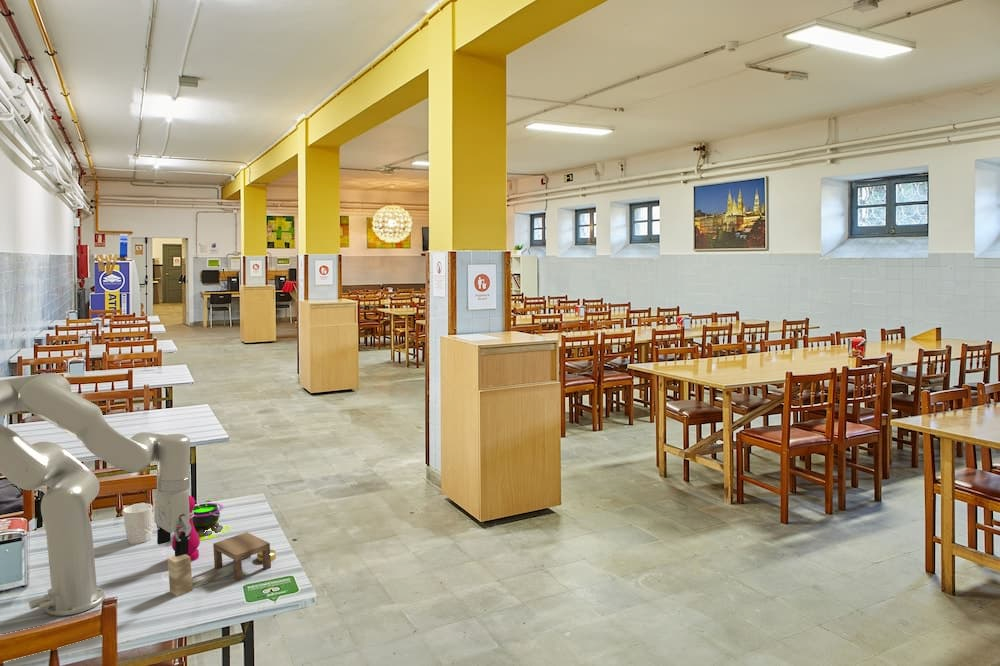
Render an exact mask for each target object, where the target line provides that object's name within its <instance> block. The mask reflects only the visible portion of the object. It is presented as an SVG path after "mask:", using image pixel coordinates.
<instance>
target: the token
mask: <svg viewBox="0 0 1000 666" xmlns="http://www.w3.org/2000/svg"><path fill="white" fill-rule="evenodd" d="M256 554H257V555H256V558H257V560H256V561H257V562H259V563H262V564H263V557H262V552H259V553H256ZM270 559H271V562H273V561H275V560H276V559H277V553H276V550H274V549H270Z"/></svg>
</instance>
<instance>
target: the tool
mask: <svg viewBox="0 0 1000 666" xmlns="http://www.w3.org/2000/svg"><path fill="white" fill-rule="evenodd" d="M167 569H168V583H169V592H171V593H172V594H173V595H175V596H176V597H178V596H181V595H184V594H186V593H189V592H192V591H193V589H195V587H196V588H198V587H197V586H199V587H201V586H203V585H202V584H204V583H206V584H208V583H207V582H209V583H211V582H210V581H212V582H215V581H216V580H219V579H222V578H224V577H227V576H230V575H234V565H233V563H232V564H228V565H226V566H223V567H222V568H219V569H215V570H212V571H210V572H207V573H205V574H202V575H199V576H197V577H194V578H192V577H193V576H192V561H191V558H190V557H189V556H188V555H186V554H184V555H181V556H177V557H176V556H175V555H172V556H170V557H168V558H167ZM200 585H201V586H200ZM204 585H205V584H204Z"/></svg>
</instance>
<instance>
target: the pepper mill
mask: <svg viewBox="0 0 1000 666" xmlns="http://www.w3.org/2000/svg"><path fill="white" fill-rule="evenodd" d="M188 496H189V512H190V520H189V523H190V525H191V527H192V528H191V531H190V533H191V534H190V536H189V537H190V538H189V545H188V553H187V554H186V555H188V556H189V557H190V558H191V562H192V561H196V560H197V559H198V558H199V556H200V551H199V549H198V548H199V546H200V544H201V540H200V539H199V536H198V534H197V532H196V530H195V528H194V526H193V516H194V514H193V513H194V511H193V509H194V507H195V506H196V501H195V500H196V499H195V498H194V497H193V496H191V495H189V494H188ZM177 528H181V526H180V527H177ZM182 532H183V531H179V535H181V533H182ZM176 540H177V539H176V536H175V534H174V535H173V538H172V542H171V548H172V550H173V551H174V552H175V541H176Z"/></svg>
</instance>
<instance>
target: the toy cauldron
mask: <svg viewBox="0 0 1000 666" xmlns="http://www.w3.org/2000/svg"><path fill="white" fill-rule="evenodd" d="M200 496H204V495H199V496H196V499H194V500H195V503H198V501H199V497H200ZM201 500H204V497H203V498H201ZM213 500H216V498H213ZM224 508H225V506H224V505H223V504H222V503H221V504H220V503H217V501H215V502H209V503H208V502H206V503H200V504H196V505H195V507H194V509H193V511H194V513H193V514H194V516H193V526H194V528H195V530H196V532H197V534H198V536H199V539H200V541H206V540H205V539H207V540H211V538H212V536H213V537H216V538H218V536H215V535H211V534H212V531H214V532H215V533H218V532H221V530H222V529H223V526H222V525H219V522H218V521H219V519H220V516H221V511H222V510H223V509H224ZM215 527H216V528H215ZM210 528H211V530H212V531H206V532H205V530H208V529H210ZM225 528H226V532H227V533H228V532H229V531H227V529H230V528H229V527H228V526H226V527H225ZM230 530H231V529H230ZM204 532H205V533H204ZM222 533H223V534H224V535H225V534H226V533H225V532H224V531H222ZM205 536H208V538H204V537H205ZM212 539H213V538H212Z"/></svg>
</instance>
